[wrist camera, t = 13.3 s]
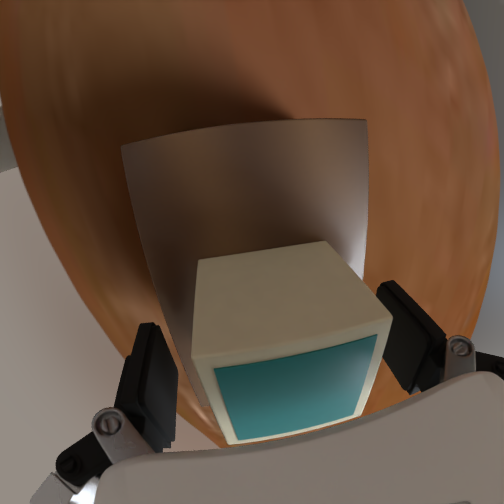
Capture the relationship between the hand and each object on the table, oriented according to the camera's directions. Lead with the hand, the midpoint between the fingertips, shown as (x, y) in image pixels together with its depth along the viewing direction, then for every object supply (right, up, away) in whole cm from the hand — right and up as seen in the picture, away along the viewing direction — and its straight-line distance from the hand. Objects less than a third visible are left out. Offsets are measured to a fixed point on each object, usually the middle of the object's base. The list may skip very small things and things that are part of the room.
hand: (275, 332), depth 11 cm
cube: (0, +1, +2) cm, 2 cm away
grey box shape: (-2, +5, +11) cm, 12 cm away
